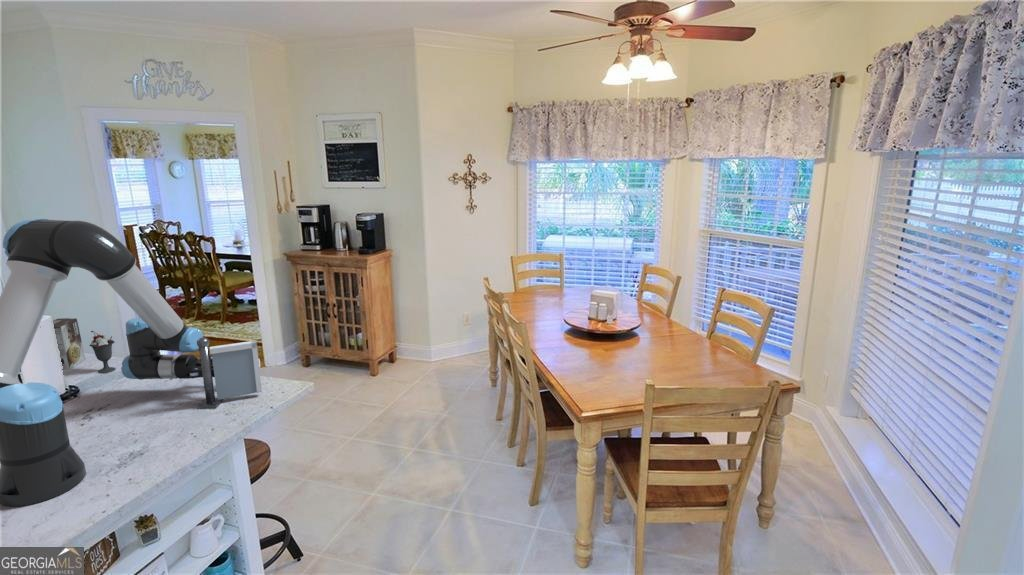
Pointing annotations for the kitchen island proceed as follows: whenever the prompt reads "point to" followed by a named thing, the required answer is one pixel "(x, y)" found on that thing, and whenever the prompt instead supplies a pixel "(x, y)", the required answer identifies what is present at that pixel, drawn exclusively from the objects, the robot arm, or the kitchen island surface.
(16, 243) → the robot arm
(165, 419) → the kitchen island surface
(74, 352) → the coffee box
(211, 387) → the metal joystick
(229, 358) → the panel
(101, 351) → the sundae
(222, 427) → the kitchen island surface
